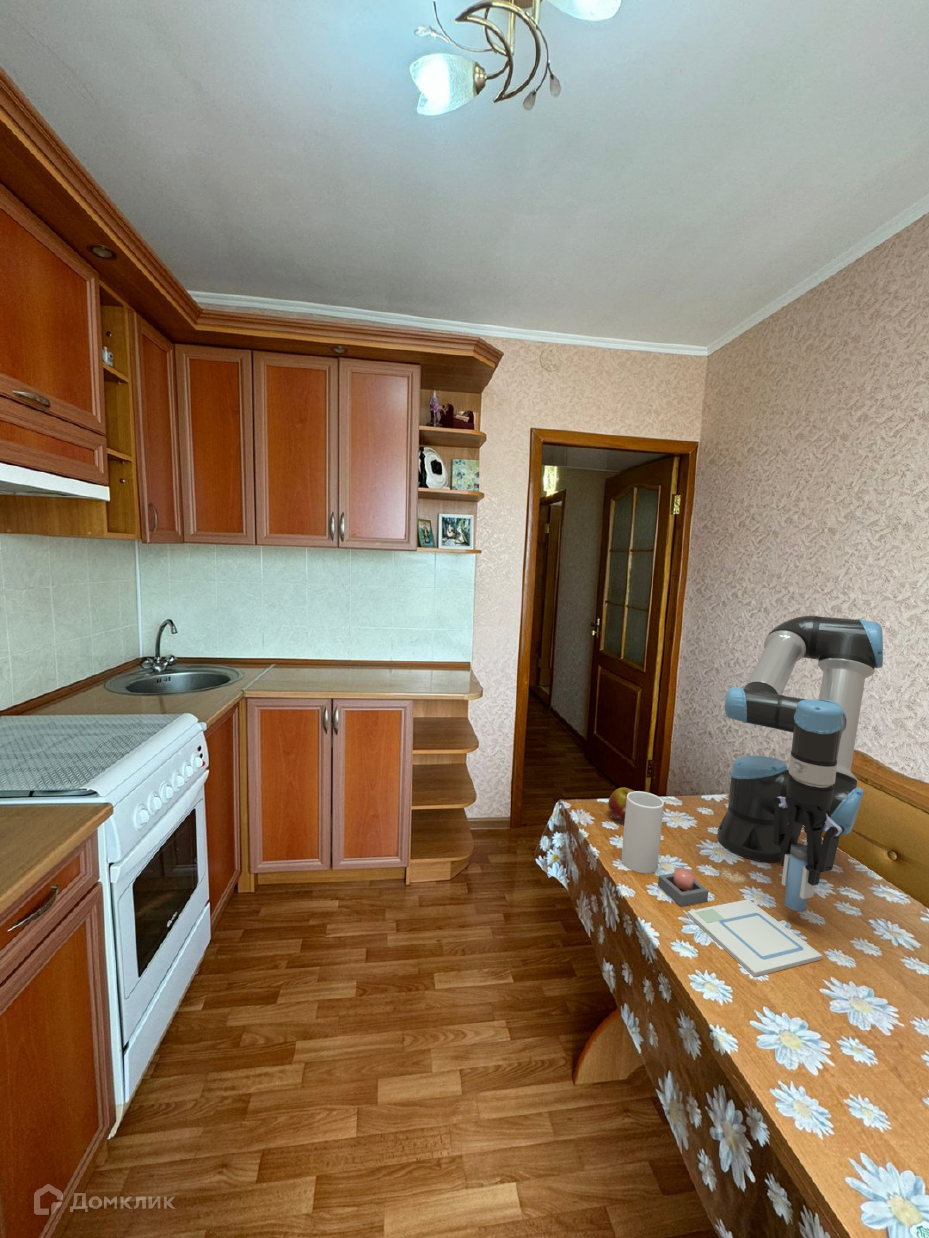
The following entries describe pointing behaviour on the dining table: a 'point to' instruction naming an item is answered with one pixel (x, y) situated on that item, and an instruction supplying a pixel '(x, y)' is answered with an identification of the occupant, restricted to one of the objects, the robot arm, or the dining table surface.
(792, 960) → the board
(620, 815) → the fruit
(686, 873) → the button
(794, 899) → the marker
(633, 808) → the cup
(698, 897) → the button housing
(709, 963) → the dining table surface
